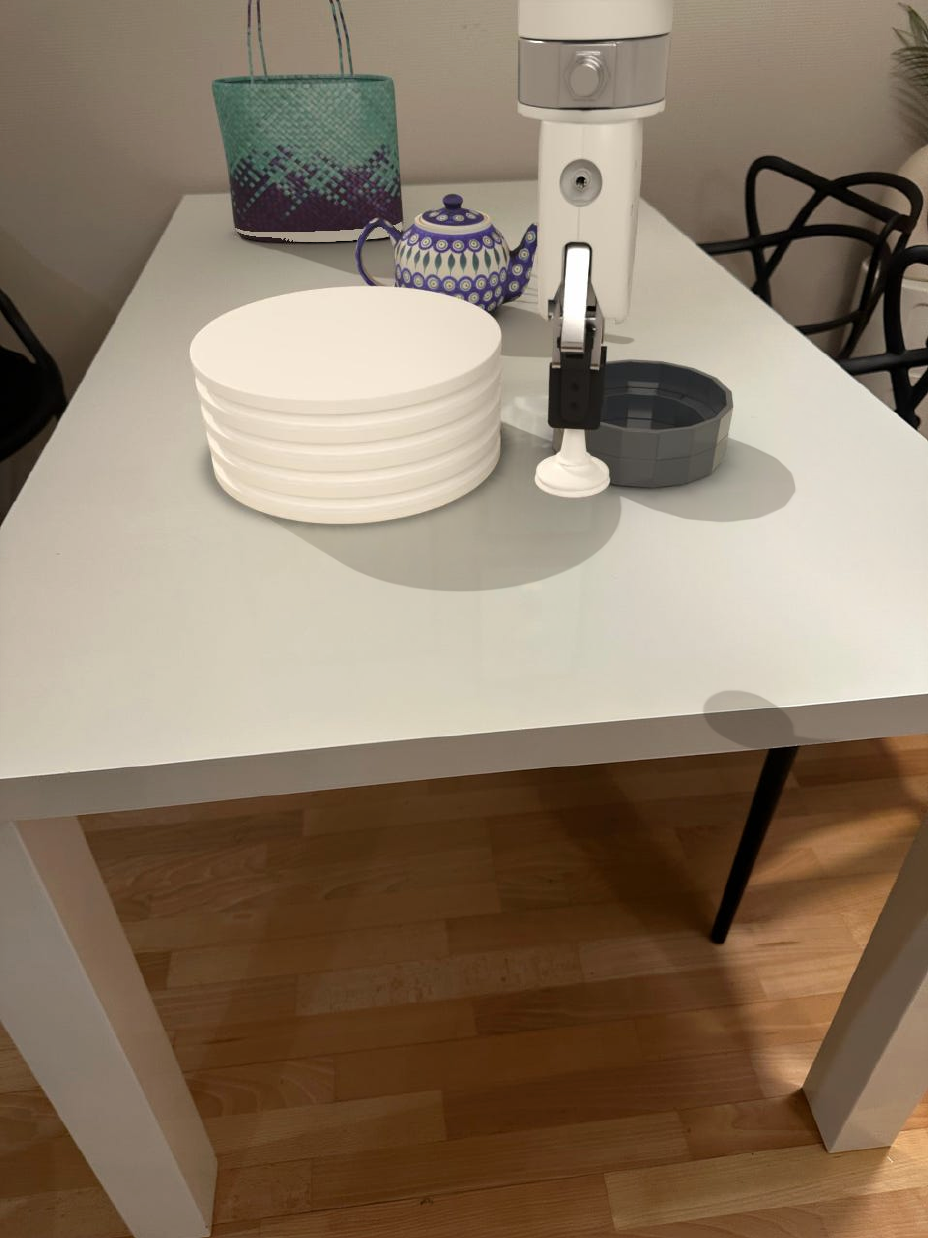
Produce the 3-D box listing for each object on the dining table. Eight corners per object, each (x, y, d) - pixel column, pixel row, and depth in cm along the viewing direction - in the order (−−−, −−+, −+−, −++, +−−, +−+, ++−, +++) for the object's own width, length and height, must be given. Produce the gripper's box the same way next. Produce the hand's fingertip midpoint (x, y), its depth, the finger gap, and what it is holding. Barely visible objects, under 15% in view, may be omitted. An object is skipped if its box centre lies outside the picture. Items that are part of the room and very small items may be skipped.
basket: (407, 223, 154) (392, -69, 130) (401, 243, 145) (383, -69, 120) (244, 225, 155) (199, -66, 131) (227, 244, 146) (175, -65, 121)
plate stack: (188, 420, 94) (164, 311, 87) (434, 373, 103) (430, 271, 96) (252, 554, 74) (228, 426, 67) (551, 481, 82) (557, 361, 75)
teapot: (350, 333, 113) (338, 208, 104) (371, 294, 125) (362, 179, 116) (548, 337, 111) (554, 210, 102) (550, 297, 123) (555, 180, 114)
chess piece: (520, 484, 59) (521, 333, 53) (560, 456, 62) (565, 310, 56) (585, 505, 56) (593, 349, 50) (623, 474, 59) (636, 324, 53)
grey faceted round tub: (719, 420, 92) (728, 364, 88) (725, 499, 80) (737, 438, 76) (562, 410, 95) (565, 355, 91) (544, 485, 82) (547, 424, 78)
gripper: (666, 101, 38) (631, 481, 50) (668, 58, 51) (639, 370, 62) (494, 102, 40) (497, 473, 51) (536, 60, 52) (532, 366, 63)
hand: (576, 414), depth 56 cm, fingers closed on chess piece
